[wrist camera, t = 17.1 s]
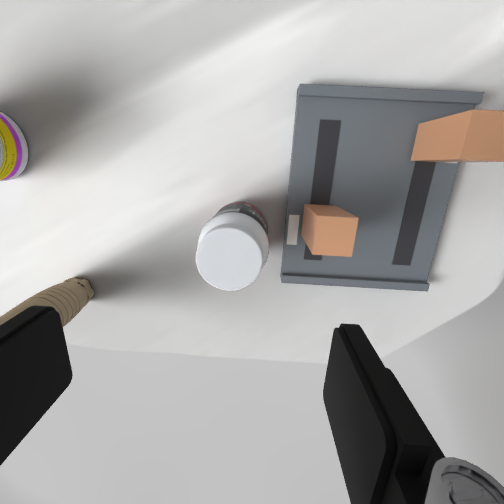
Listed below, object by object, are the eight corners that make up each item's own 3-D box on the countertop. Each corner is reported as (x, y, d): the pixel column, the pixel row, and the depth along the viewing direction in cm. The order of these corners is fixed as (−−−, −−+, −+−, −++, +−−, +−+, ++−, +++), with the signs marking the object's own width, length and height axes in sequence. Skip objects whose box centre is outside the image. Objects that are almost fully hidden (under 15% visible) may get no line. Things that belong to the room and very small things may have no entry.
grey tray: (297, 89, 24) (300, 83, 22) (469, 97, 23) (483, 92, 22) (280, 276, 29) (281, 282, 28) (418, 284, 29) (427, 291, 27)
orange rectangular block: (304, 204, 25) (317, 215, 19) (336, 205, 25) (358, 218, 19) (300, 234, 26) (312, 254, 20) (331, 236, 26) (351, 256, 20)
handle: (66, 256, 29) (-119, 342, 15) (116, 291, 30) (-12, 402, 16) (47, 286, 31) (-142, 392, 16) (95, 319, 32) (-42, 444, 17)
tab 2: (418, 123, 23) (473, 109, 17) (453, 125, 23) (520, 111, 17) (410, 160, 24) (459, 159, 18) (444, 162, 24) (504, 161, 18)
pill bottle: (275, 242, 28) (283, 282, 19) (227, 262, 29) (210, 309, 19) (254, 191, 26) (250, 206, 17) (203, 214, 27) (172, 240, 18)
